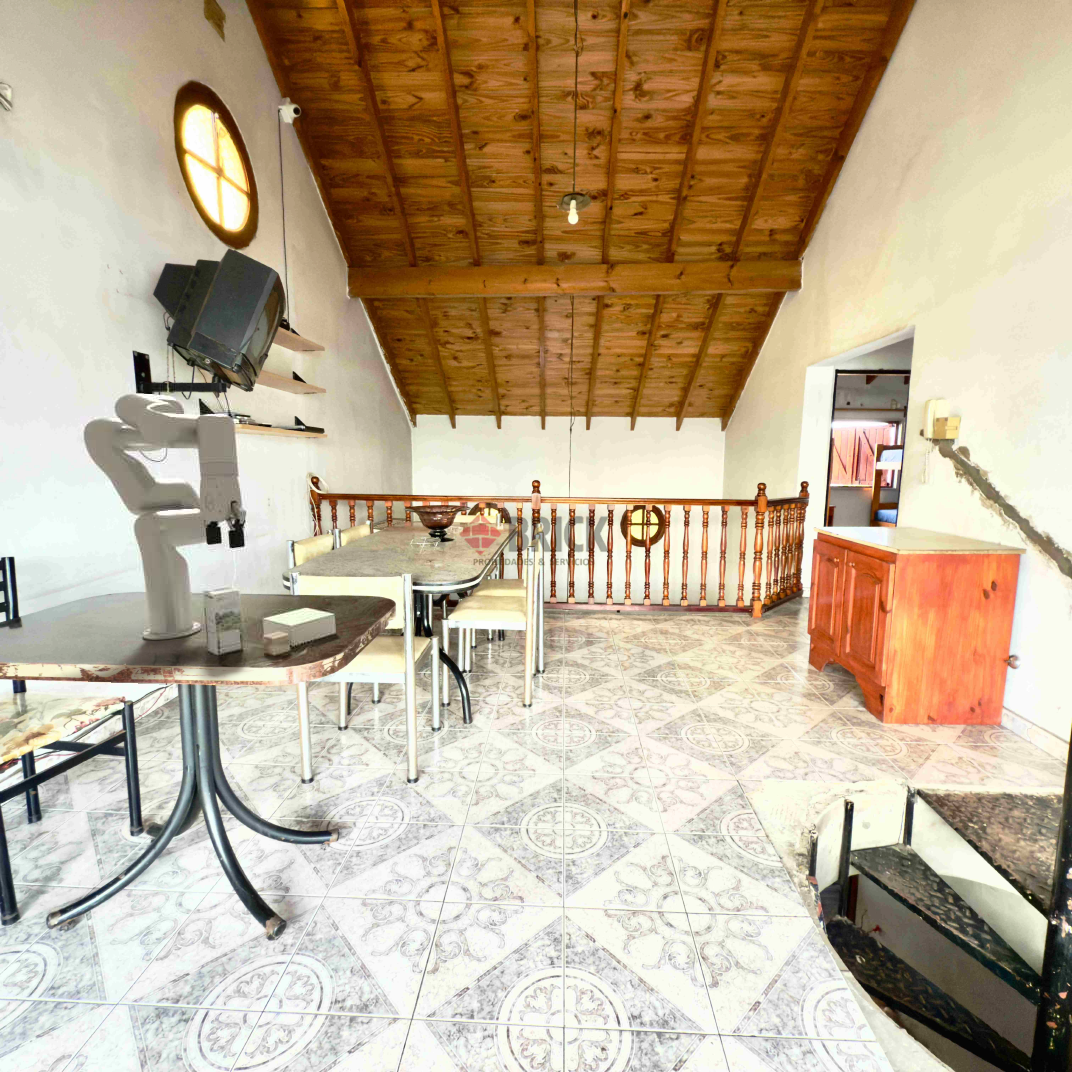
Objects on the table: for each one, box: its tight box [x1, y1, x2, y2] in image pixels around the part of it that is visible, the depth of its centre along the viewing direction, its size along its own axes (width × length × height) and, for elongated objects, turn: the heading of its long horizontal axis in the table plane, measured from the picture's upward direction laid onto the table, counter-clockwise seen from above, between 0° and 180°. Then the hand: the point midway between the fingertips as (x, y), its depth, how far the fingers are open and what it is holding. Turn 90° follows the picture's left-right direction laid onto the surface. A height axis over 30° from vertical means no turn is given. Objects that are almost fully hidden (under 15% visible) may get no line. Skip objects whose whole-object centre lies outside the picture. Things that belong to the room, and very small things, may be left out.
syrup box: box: [202, 586, 244, 656], centre depth 130 cm, size 6×6×14 cm
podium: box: [262, 607, 337, 647], centre depth 141 cm, size 12×12×5 cm
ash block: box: [262, 631, 291, 656], centre depth 130 cm, size 4×4×4 cm
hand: (225, 545), depth 129 cm, fingers open, 9 cm apart
